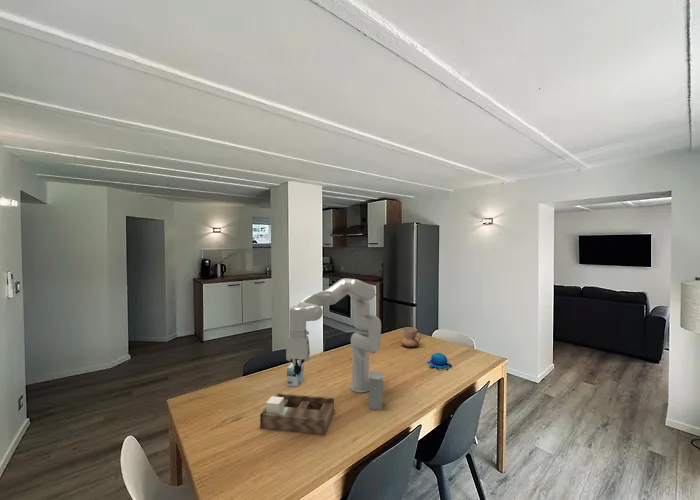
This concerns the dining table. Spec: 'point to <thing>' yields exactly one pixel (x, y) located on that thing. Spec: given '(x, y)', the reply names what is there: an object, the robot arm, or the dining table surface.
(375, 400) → the skincare box
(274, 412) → the cream block
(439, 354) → the plush toy
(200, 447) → the dining table surface
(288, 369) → the light bulb box
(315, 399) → the box
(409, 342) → the ceramic jug
